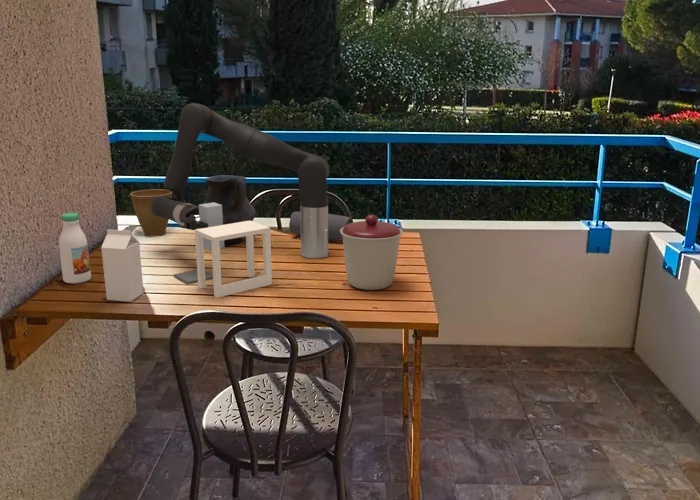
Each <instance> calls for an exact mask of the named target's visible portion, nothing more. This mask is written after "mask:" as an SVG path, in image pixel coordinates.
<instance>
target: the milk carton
mask: <svg viewBox="0 0 700 500" xmlns="http://www.w3.org/2000/svg"><path fill="white" fill-rule="evenodd" d="M132 232H133V231H132V230H124V229H123V230H121V229H106V233H107V234H106V236H105V238H104V240H103V243H102V245H101V247H100V248H101V257H102V267H103V275H104V285H105V286H104V287H105V293H106V296H105V297H106V300H107V301H115V302H116V301H118V302H133V301H135V299H137V298H138V297H140V296H141V295H143V294H144V284H143V283H144V282H143V281H144V280H143V272H142V269H143V268H142V259H141V258H142V257H141V248H140V247H141V246H140V241H138V239H137V238H136V237H135V236H133V234H132Z"/></svg>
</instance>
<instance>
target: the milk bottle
mask: <svg viewBox="0 0 700 500" xmlns="http://www.w3.org/2000/svg"><path fill="white" fill-rule="evenodd" d="M79 222H80V216H79V213H76V212H65V213H62V214H61V223H62V225H63V226H62V230H61V233H60V236H59V239H58V240H59V241H58V246H59V247H58V248H59V257H60V264H61V266H60V267H61V273H62V279H63V282H65V283H67V284H82V283H85V282H87V281H90V280H91V278H92V272H91V270H92V269H91V264H90V262H91V261H90V253H89V247H88V241H87V237H86V235H85V233H84V232H83V230H82V228H81V226H80V224H79Z"/></svg>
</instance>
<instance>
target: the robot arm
mask: <svg viewBox="0 0 700 500" xmlns="http://www.w3.org/2000/svg"><path fill="white" fill-rule="evenodd" d="M177 128H178V130H177V135H176V140H175V144H174V147H173V149H174V150H173V153H172V156H171V158H170V159H171V160H170V163H169V166H168V169H167V172H166V175H165V179H164V181H163V187H164V189H165V190H169V191H171V192H172V198H170V197H165V196H157V197H155V198H154V199H153V200H152V202H151V211H152V213H153V214H154V215H155V216H158V217H161V218H165V219H169V221H172V222H174V223H176V224H178V225H179V227H180V228H181V229H185V230H190V231H195V230H196V229H202V228H208V224H207V223H205V222H201V221H200V217H199V205H196V204H195V205H194V204H193V203H187V202H185V192H186V191H185V190H186V186H187V183H188V181H189V178H190V174H191V171H192V166H193V165H192V163H193V156H194V149H195V147H196V143H197V141H198V139H199V136H201V135H200V134H203V135H207V136H210V137H213V138H216V139H218V140H219V141H222V142H224V143H225V144H227V145H229V146H230V147H231V148H233V149H234V150H236V151H237V152H239V153H241V154H242V155H245V156H247V157H249V158H251V159H254V160H256V161H259V162H261V163H265V164H267V165H268V164H270V165H273V166H279V167H283V168H285V169H288V170H290V171H293V172H295V173H296V174H297V175H298V176H297V177H298V178H297V179H298V182H297V183H298V196H299V204H300V209H299V210H300V211H299V212H300V219H301V235H300V256H301V257H303V258H307V259H322V258H328V257H329V241H328V214H329V197H328V186H327V182H328V181H327V180H328V179H327V178H328V177H329V174H330V165H329V163H328V162H327V160H326V159H325V158H323V157H321V156H320V155H316V154H313V153H311V152H307V151H303V150H301V149H298V148H296V147H293V146H292V145H290V144H288V143H286V142H285V141H282V140H280V139H278V138H277V137H274V136H272V135H270V134H268V133H266V132H263V131H261V130H260V129H258V128H254V127H252V126H250V125H247V124H244V123H242V122H237V121H234V120H231V119H228V118H227V117H225V116H223V115H221V114H219V113H217V112H216V111H214V110H212V109H211V108H210V107H208V106H206V105H204V104H200V103H195V102H194V103H193V102H191V103H188V104H186V105H185V106H184V107H183V108H182V109H181V112H180V116H179V121H178V127H177ZM223 225H226V221H225V220H224V216H223Z"/></svg>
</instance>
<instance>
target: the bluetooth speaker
mask: <svg viewBox="0 0 700 500" xmlns="http://www.w3.org/2000/svg"><path fill="white" fill-rule="evenodd" d="M350 223H354V219H353V217H349V216H346V215H339V214H331V213H328V242H329V241H333V242H335V241H336V240H337V241H343V237H342V234H341V233H340V229H341V228H343V227H345V226H346V225H348V224H350ZM288 229H289V231H290V233H291V234H295V235H299V236H301V219H300V211H293V212H292V213H291V215H290V219H289V223H288ZM334 240H335V241H334Z"/></svg>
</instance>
